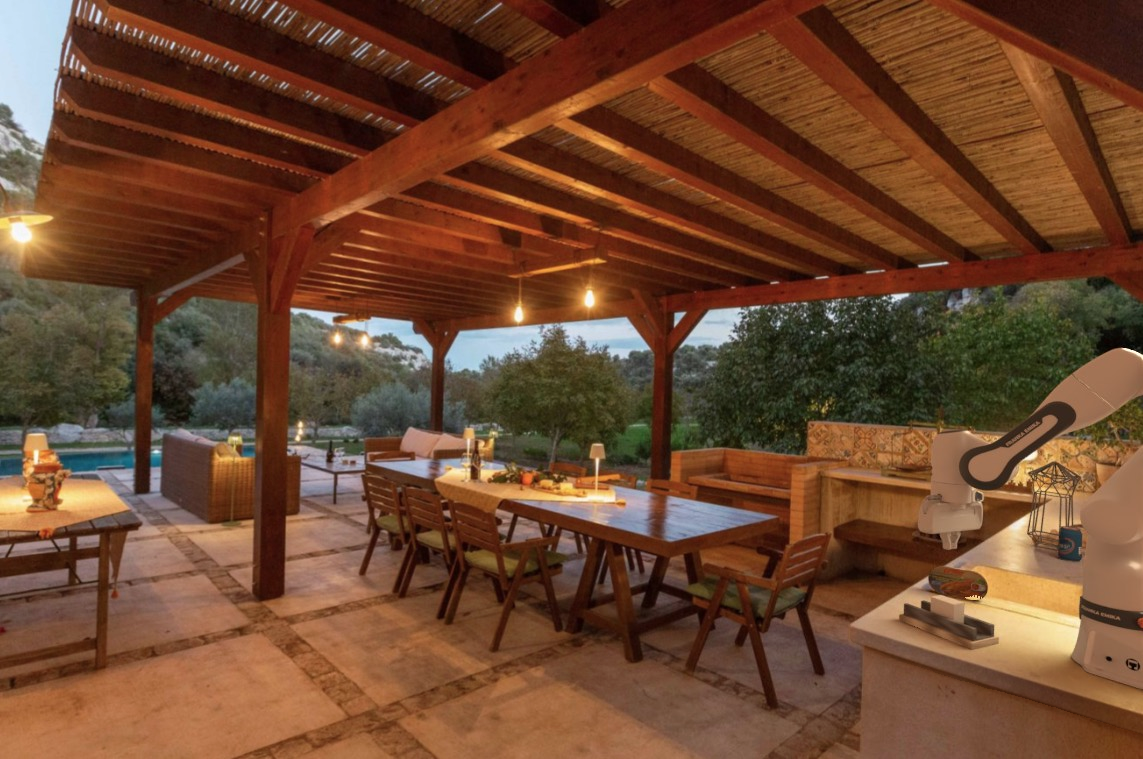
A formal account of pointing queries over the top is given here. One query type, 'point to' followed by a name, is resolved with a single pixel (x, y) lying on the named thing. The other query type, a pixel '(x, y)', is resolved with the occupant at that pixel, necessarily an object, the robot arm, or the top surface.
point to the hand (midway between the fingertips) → (949, 548)
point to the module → (948, 608)
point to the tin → (957, 582)
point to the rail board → (950, 626)
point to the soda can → (1070, 544)
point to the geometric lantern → (1035, 473)
